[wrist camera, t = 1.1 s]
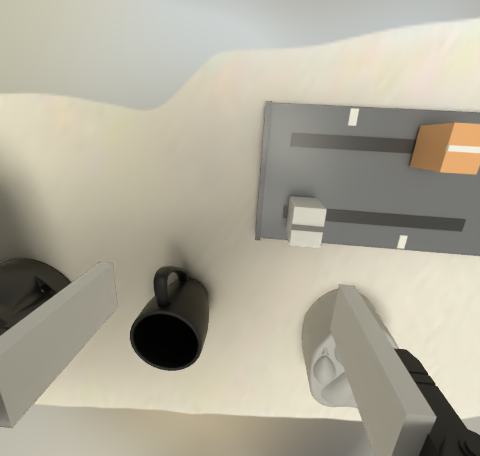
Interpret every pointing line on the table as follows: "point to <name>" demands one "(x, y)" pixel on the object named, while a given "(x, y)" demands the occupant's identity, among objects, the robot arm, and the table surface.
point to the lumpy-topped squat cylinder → (328, 353)
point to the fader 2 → (448, 148)
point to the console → (365, 178)
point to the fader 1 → (305, 222)
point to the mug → (172, 322)
